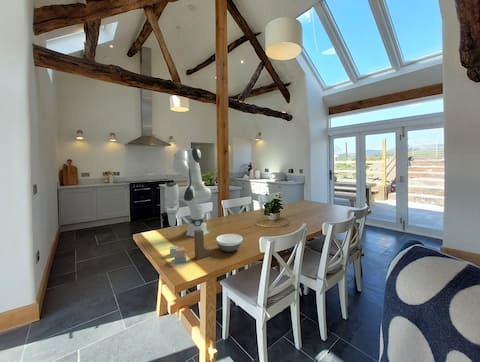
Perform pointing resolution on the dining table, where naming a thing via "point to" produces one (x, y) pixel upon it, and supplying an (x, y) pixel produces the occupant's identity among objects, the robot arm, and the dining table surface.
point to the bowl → (229, 242)
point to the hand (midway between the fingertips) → (173, 228)
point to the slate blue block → (180, 260)
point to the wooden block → (200, 245)
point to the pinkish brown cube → (180, 253)
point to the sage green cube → (173, 251)
